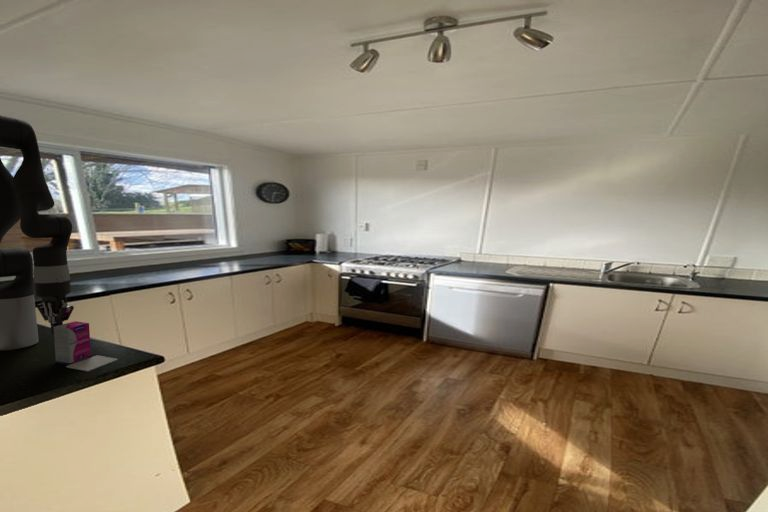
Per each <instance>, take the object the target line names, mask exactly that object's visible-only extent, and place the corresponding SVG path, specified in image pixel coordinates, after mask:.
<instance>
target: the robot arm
mask: <svg viewBox="0 0 768 512" xmlns="http://www.w3.org/2000/svg"><path fill="white" fill-rule="evenodd" d="M38 144H39V143H38V139H37V136H36V131H35V130H34V128H33V126H32V125H31V124H30V123H29V122H28V121H26V120H22V119H19V118H14V117H10V116H5V115H1V114H0V148H6V149H13V150H19V151H20V152H21V155H22V161H21V164H20V166H19V167H18V169H17V170H16V172H15V173H14V175H12V174H11V172H10V171H9V169H8V168H7V167H6V166H5V164H4V163H3V161H2V159H1V157H0V244H1V242H2V240H3V238H4V237H5V235H6V234H7V233H8V232H9V231H10V230H11V229H12V228H13V227H14V226H15V225H16V224H17V223H19V228H20V231H21V232H22V233H23V235H25V236H26V237H28V238H31V239H51V240H50V241H49V243H48V244H45V245H44V244H43V245H39V246H36V247H34V248H33V249H32V254H31V252H30V251H29V249H27V248H23V247H22V248H20V247H19V248H0V278H9V277H14V279H13V280H12V281H10V282H8V283H6V284H3V285H1V286H0V351H13V350H18V349H22V348H27V347H31V346H33V345H35V344H38V343H39V341H40V340H39V331H38V321H37V319H38V318H37V312H36V311H37V310H36V308H37V309H38V312H39V313H40V315H41V316H42V318H43V320H44V321H45V322H46V321H48V323H49V324H50V333H51V335H52V336H54V326H58V325H62V324H64V322H65V321H68V320H69V318H70V317H71V315H72V313H73V310H74V309H75V306H74V305H69V304H68V299H67V295H69V294H71V292H72V286H71V276H70V274H71V273H70V269H69V265H68V256H67V253H68V252H67V251H68V247H69V243H70V239H71V237H72V232H73V224H72V222H71V220H70V219H69V218H68V217H67V216H65V215H63V214H40V213H39V212H42V211H43V212H44V211H48V210H51V209H53V207H55V200H54V198H53V196H52V193H51V191H50V188H49V187H48V183H47V181H46V178H45V174H44V169H43V165H42V157H41V153H40V149H39V145H38ZM19 221H20V222H19ZM35 297H37V298H41V303H37V304H36V303H35V301H36V300H35Z"/></svg>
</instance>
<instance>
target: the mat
mask: <svg viewBox="0 0 768 512" xmlns="http://www.w3.org/2000/svg"><path fill="white" fill-rule="evenodd" d="M117 361H119V359H118V358H115V357H108V356H103V355H94V356H91V357H90V358H87V359H84V360H81V361H78V362H76V363H73V364H71V365H66V366H65V367H66V368H68V369H73V370H78V371H83V372H87V373H88V372H91V371H93V370H96V369H98V368H101V367H104V366H106V365H108V364H111V363H114V362H117Z"/></svg>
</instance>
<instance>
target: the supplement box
mask: <svg viewBox="0 0 768 512" xmlns="http://www.w3.org/2000/svg"><path fill="white" fill-rule="evenodd" d="M53 336H54V351H55V352H54V354H55V363H57V364H60V365H61V364H62V365H66V366H68V365H71V364H74V363H77V362H80V361H82V360H85V359H88V358H91V357H92V351H91V337H90V323H89V322H84V321H83V322H81V321H76V320H75V321H71V322H67V323H63V324H62V325H58V326H54V335H53Z"/></svg>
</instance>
